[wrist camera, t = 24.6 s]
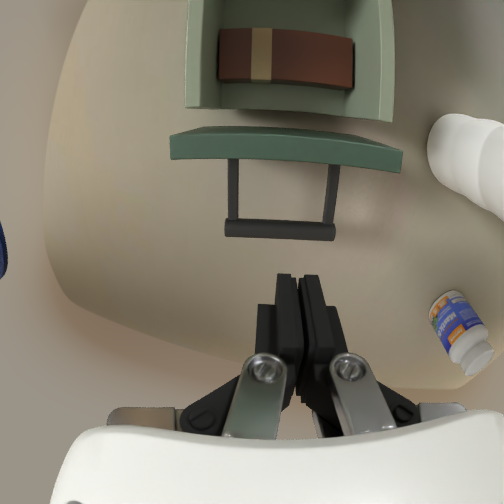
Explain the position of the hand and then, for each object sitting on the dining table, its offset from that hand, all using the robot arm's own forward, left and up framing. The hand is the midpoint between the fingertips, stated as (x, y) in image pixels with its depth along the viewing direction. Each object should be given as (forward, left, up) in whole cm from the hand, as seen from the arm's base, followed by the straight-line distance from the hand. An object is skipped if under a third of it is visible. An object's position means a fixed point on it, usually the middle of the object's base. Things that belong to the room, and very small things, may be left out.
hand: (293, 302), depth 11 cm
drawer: (0, +9, -11) cm, 15 cm away
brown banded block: (0, +11, -10) cm, 15 cm away
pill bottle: (+22, -11, -13) cm, 27 cm away
